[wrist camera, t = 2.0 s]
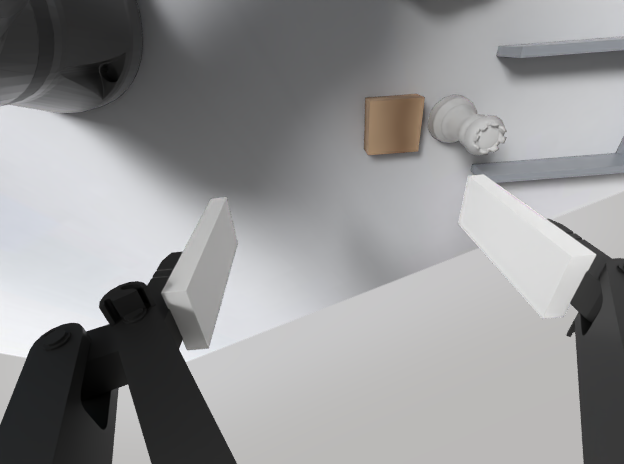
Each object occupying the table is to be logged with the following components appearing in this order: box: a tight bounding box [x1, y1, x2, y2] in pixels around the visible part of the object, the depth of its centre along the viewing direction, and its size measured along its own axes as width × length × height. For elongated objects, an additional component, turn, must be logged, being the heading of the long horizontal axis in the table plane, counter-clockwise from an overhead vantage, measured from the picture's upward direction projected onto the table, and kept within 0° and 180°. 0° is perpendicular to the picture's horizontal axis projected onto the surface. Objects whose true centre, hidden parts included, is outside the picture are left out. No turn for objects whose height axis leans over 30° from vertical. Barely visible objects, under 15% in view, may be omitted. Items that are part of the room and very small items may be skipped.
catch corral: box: [471, 37, 624, 183], centre depth 30 cm, size 17×12×4 cm
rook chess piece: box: [428, 95, 507, 156], centre depth 28 cm, size 4×4×8 cm
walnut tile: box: [364, 94, 425, 155], centre depth 30 cm, size 5×5×2 cm
